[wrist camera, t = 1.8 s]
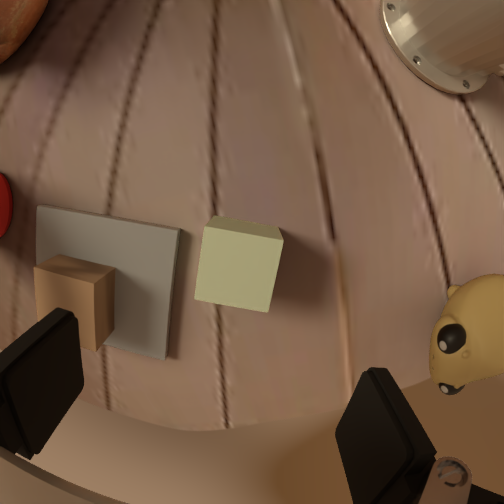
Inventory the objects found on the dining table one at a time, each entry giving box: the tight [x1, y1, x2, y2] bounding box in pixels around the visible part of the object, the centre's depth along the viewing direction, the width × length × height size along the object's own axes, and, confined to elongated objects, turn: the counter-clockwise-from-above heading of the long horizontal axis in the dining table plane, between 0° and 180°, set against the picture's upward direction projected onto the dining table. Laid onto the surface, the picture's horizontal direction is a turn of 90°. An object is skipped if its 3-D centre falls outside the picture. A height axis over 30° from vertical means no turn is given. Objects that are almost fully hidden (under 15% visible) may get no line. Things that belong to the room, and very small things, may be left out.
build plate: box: [36, 204, 181, 360], centre depth 25 cm, size 14×12×1 cm
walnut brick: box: [34, 254, 116, 352], centre depth 23 cm, size 6×6×4 cm
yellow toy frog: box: [429, 274, 504, 395], centre depth 21 cm, size 10×12×11 cm
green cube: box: [194, 215, 284, 313], centre depth 22 cm, size 5×5×5 cm
